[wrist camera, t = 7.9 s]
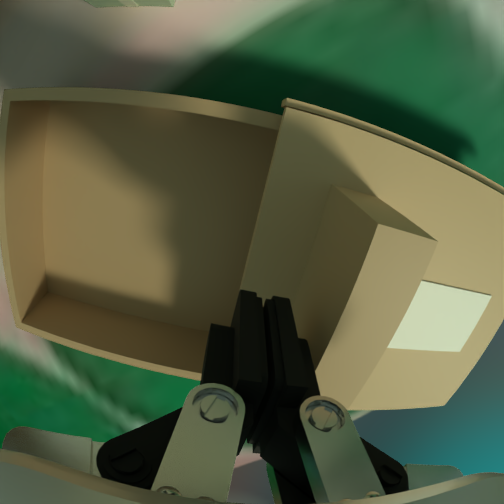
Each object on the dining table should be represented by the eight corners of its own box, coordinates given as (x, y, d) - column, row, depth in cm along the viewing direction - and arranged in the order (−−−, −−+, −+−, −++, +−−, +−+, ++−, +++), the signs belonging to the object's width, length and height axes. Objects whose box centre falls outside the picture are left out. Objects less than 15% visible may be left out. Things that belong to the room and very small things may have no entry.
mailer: (320, 129, 16) (349, 135, 11) (260, 336, 21) (263, 390, 17) (55, 90, 14) (4, 89, 10) (50, 288, 20) (16, 327, 15)
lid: (527, 205, 14) (599, 246, 8) (431, 390, 20) (463, 453, 14) (282, 100, 12) (317, 82, 6) (215, 376, 18) (207, 470, 12)
